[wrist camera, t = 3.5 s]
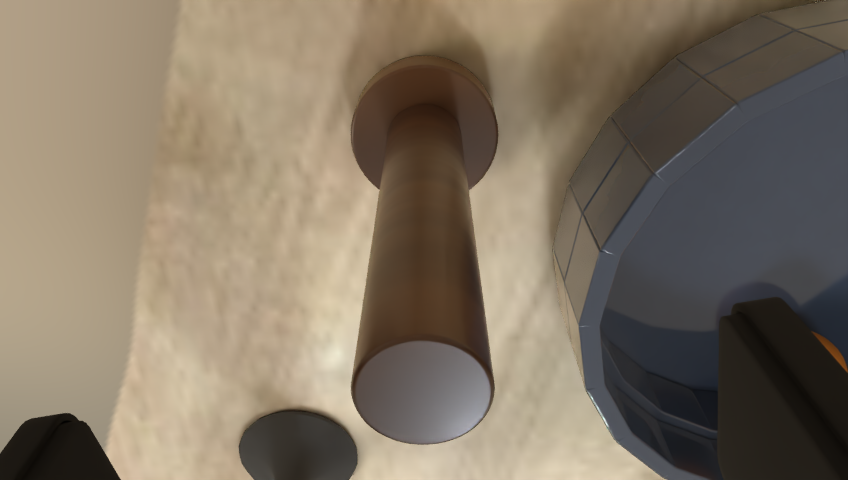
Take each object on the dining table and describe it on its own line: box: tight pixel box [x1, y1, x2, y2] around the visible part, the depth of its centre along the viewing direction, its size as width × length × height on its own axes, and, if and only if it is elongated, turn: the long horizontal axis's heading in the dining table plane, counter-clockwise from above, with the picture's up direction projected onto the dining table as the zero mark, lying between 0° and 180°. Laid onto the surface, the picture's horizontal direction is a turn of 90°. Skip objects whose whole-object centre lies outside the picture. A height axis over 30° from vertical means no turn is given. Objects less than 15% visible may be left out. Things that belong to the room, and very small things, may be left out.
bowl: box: [553, 0, 848, 480], centre depth 20 cm, size 15×15×5 cm
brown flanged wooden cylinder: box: [351, 56, 498, 444], centre depth 15 cm, size 4×4×12 cm
